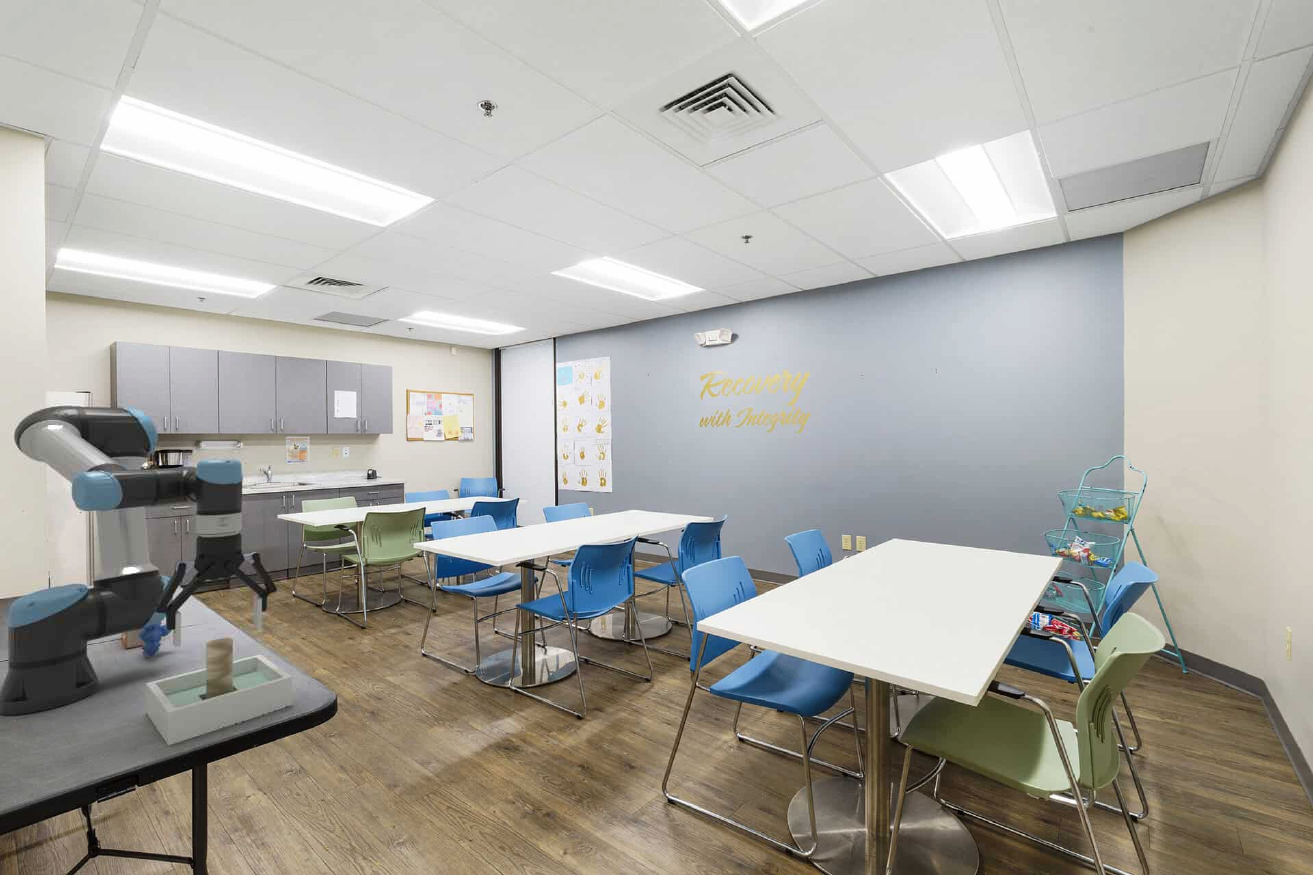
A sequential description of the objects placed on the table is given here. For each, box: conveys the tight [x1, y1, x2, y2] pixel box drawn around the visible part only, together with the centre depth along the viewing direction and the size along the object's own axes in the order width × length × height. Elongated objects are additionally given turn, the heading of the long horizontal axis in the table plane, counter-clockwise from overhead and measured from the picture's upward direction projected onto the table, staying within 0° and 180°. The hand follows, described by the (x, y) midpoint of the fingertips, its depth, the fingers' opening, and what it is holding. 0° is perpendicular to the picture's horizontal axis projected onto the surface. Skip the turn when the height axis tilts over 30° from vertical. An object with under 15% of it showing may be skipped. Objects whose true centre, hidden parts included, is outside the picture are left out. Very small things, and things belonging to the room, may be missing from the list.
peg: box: [205, 637, 234, 699], centre depth 118 cm, size 4×4×14 cm
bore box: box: [145, 654, 293, 746], centre depth 118 cm, size 20×20×6 cm
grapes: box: [138, 621, 172, 657], centre depth 148 cm, size 12×7×12 cm, turn 47°
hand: (218, 635), depth 118 cm, fingers open, 13 cm apart
